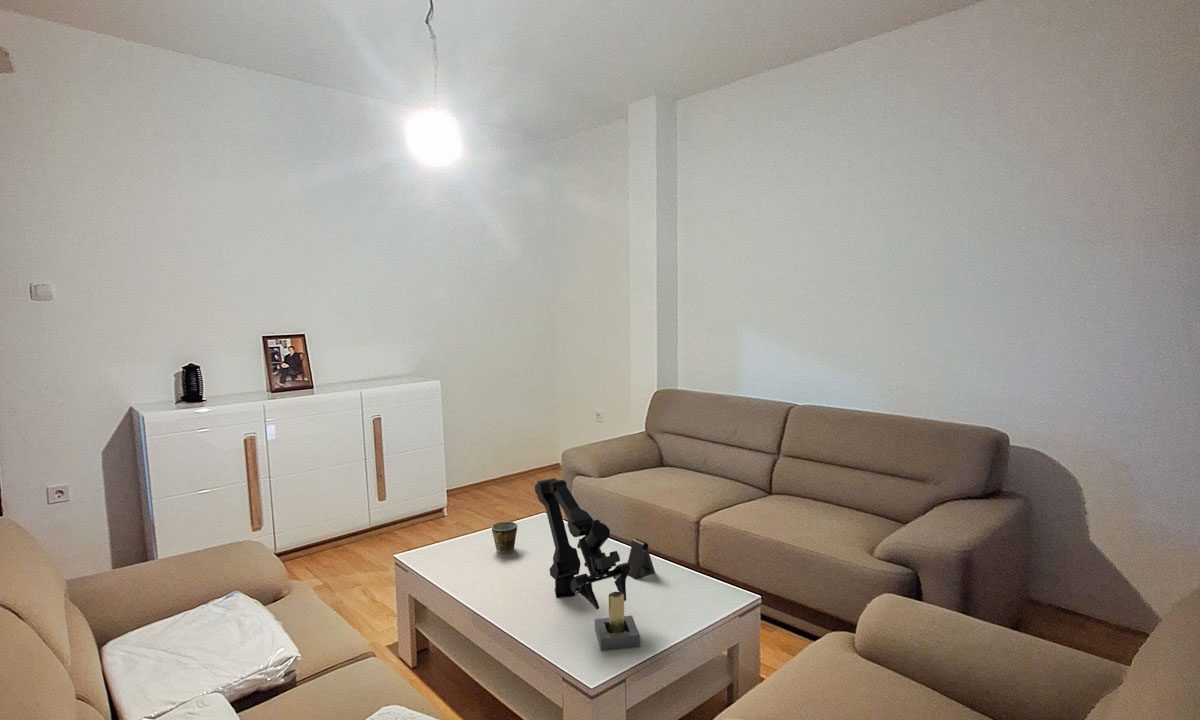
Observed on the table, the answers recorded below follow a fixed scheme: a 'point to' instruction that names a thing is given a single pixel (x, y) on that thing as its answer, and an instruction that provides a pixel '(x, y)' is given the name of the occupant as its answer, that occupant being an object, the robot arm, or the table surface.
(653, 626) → the table surface
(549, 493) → the robot arm
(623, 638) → the jig block
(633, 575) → the phone stand
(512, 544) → the ceramic cup
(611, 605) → the brass sleeve
